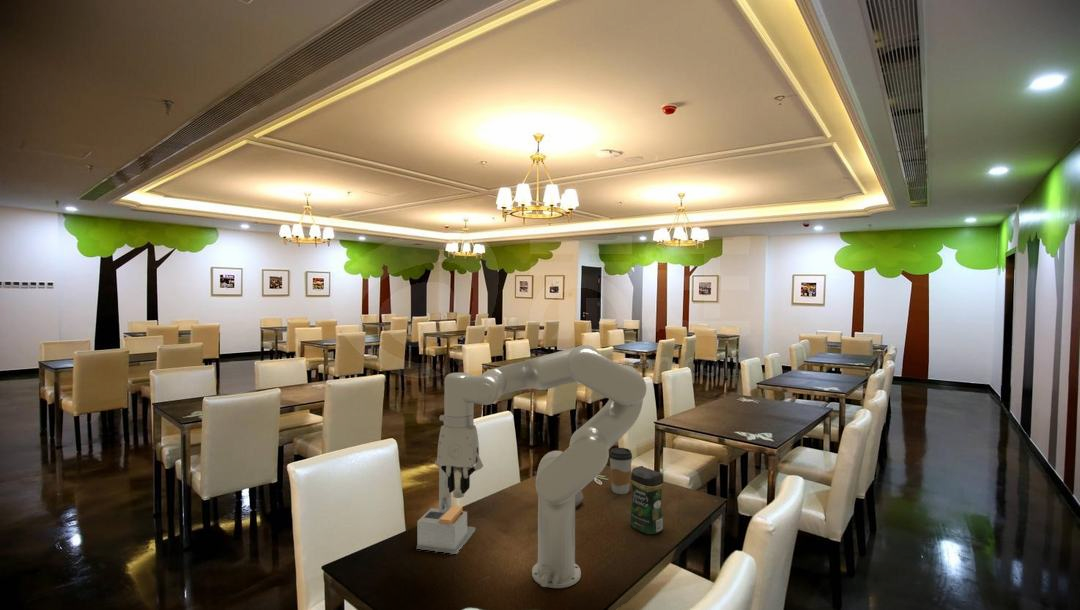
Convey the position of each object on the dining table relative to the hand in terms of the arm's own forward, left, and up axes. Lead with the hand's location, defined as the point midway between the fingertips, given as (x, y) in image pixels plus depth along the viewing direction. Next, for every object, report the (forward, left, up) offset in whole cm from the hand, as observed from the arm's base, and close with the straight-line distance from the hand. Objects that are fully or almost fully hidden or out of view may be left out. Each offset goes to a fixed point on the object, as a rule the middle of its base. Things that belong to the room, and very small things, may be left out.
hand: (458, 490), depth 133 cm
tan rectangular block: (+13, +7, -20) cm, 25 cm away
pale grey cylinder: (0, 0, -1) cm, 1 cm away
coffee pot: (+44, -17, -21) cm, 52 cm away
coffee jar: (+36, -47, -21) cm, 63 cm away
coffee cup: (+64, -37, -21) cm, 77 cm away
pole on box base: (+15, +10, -21) cm, 28 cm away
